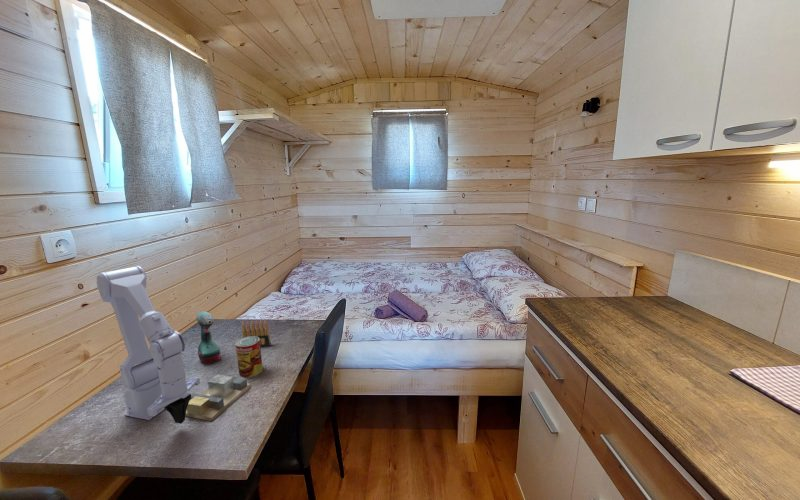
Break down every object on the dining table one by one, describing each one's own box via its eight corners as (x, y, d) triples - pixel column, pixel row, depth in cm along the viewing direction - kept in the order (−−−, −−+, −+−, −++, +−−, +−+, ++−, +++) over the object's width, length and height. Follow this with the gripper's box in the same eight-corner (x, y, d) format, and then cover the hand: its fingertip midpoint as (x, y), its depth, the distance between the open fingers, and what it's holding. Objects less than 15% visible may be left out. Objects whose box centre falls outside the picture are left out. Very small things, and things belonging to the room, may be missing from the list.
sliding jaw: (179, 411, 99) (177, 402, 99) (194, 400, 105) (192, 390, 104) (210, 417, 97) (208, 407, 96) (224, 405, 102) (222, 395, 101)
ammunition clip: (270, 344, 142) (268, 318, 140) (269, 346, 141) (267, 319, 138) (244, 346, 141) (241, 319, 138) (243, 348, 139) (239, 321, 137)
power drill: (205, 373, 121) (198, 321, 117) (196, 356, 133) (189, 309, 129) (227, 365, 126) (220, 316, 122) (216, 350, 138) (210, 304, 134)
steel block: (225, 398, 106) (223, 384, 104) (209, 395, 107) (207, 381, 106) (234, 390, 109) (232, 376, 108) (218, 388, 111) (217, 374, 110)
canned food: (234, 375, 120) (230, 344, 117) (250, 364, 127) (247, 334, 125) (251, 379, 117) (247, 347, 115) (267, 367, 124) (264, 337, 122)
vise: (178, 414, 100) (176, 404, 99) (220, 381, 116) (219, 372, 115) (212, 420, 97) (210, 410, 96) (250, 386, 113) (249, 377, 112)
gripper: (159, 395, 83) (168, 443, 86) (206, 365, 97) (212, 406, 99) (137, 392, 85) (146, 438, 87) (186, 362, 98) (192, 403, 101)
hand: (180, 421), depth 94 cm, fingers closed
